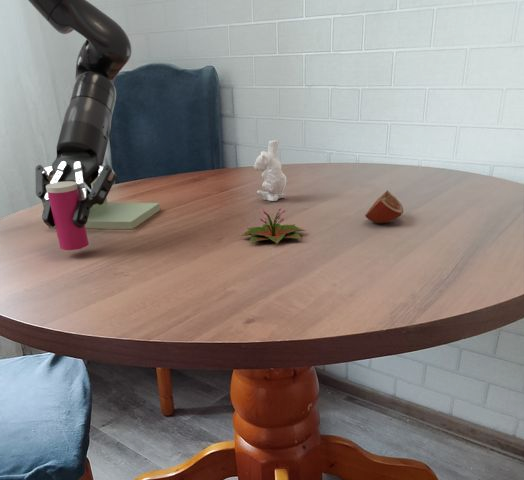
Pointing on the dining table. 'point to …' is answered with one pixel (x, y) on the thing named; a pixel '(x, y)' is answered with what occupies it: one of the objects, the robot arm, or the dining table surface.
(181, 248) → the dining table surface
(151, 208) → the step shelf
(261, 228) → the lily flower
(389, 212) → the fruit slice
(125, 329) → the dining table surface
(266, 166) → the white bunny figurine
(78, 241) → the lidded tumbler cup
